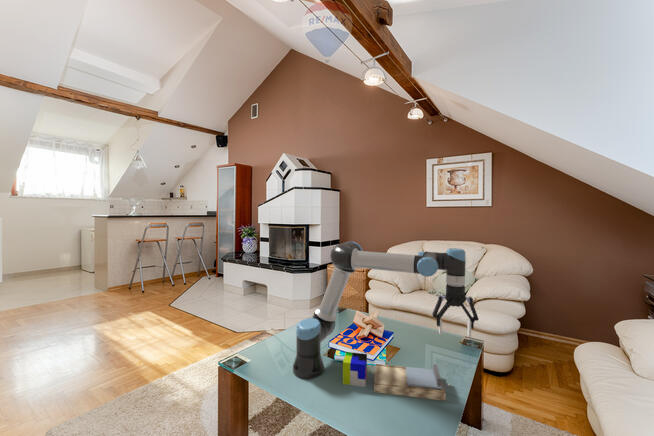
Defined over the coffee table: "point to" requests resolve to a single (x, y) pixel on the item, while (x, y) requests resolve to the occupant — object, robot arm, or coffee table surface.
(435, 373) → the lid
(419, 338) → the coffee table surface
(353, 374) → the puzzle toy
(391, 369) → the board
